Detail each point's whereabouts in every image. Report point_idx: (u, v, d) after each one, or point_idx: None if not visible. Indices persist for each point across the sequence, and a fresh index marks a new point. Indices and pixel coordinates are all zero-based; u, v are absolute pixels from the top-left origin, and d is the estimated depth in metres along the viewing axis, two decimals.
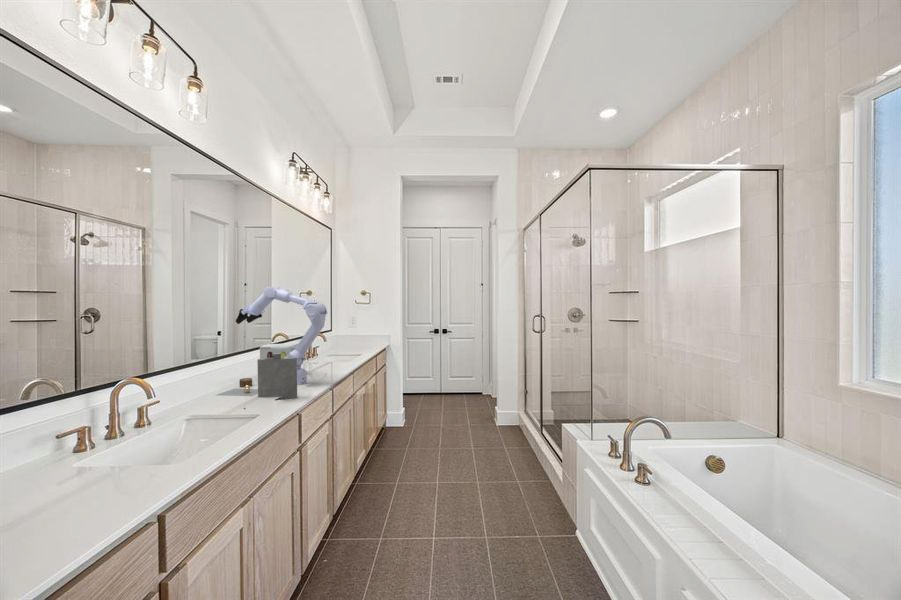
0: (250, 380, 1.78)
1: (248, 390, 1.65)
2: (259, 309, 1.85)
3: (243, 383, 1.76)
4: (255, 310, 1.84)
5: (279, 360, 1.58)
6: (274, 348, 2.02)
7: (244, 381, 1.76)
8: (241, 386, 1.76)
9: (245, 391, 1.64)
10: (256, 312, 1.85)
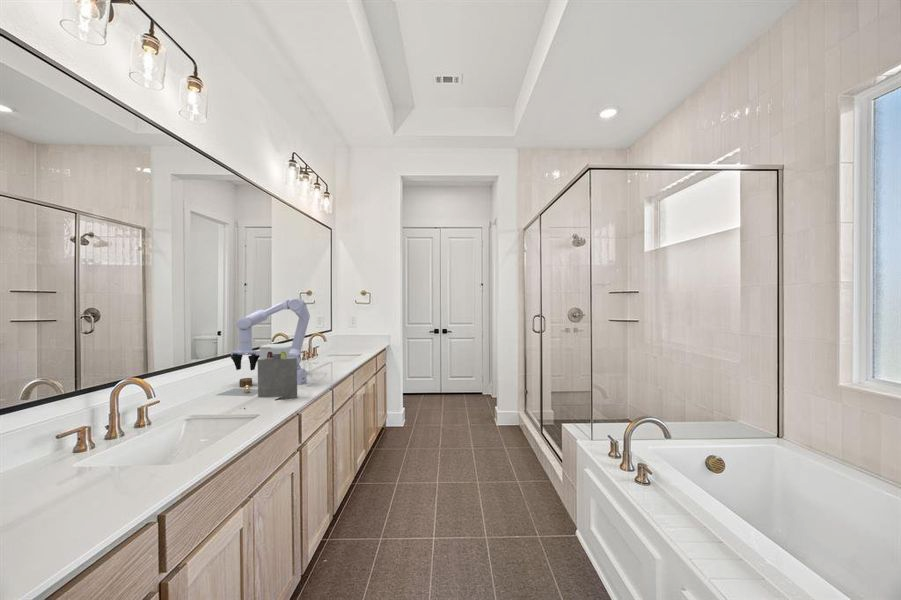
0: (250, 380, 1.78)
1: (248, 390, 1.65)
2: None
3: (243, 383, 1.76)
4: (251, 347, 1.80)
5: (279, 360, 1.58)
6: (274, 348, 2.02)
7: (244, 381, 1.76)
8: (241, 386, 1.76)
9: (245, 391, 1.64)
10: None
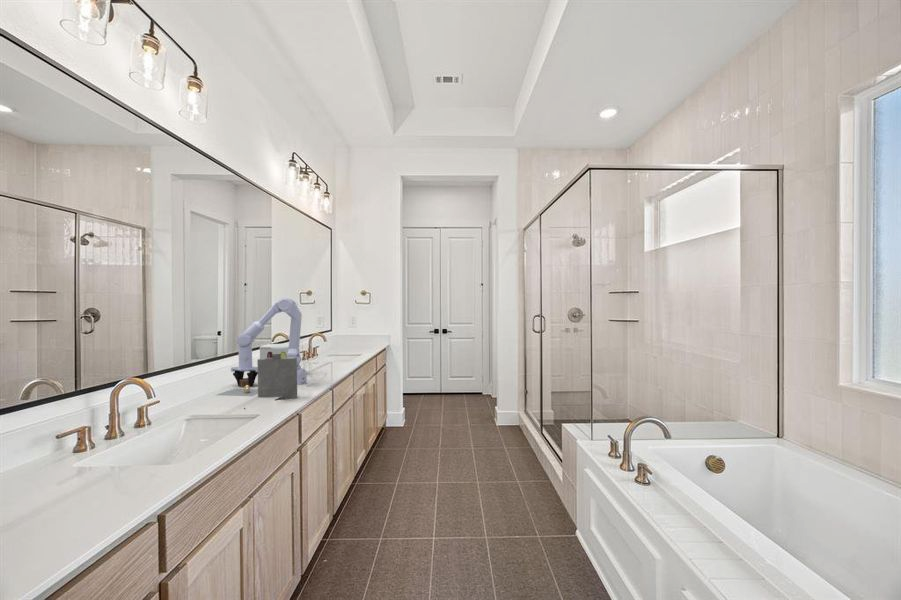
0: None
1: (248, 390, 1.65)
2: None
3: (243, 383, 1.76)
4: None
5: (279, 360, 1.58)
6: (274, 348, 2.02)
7: (244, 381, 1.76)
8: (241, 386, 1.76)
9: (245, 391, 1.64)
10: None
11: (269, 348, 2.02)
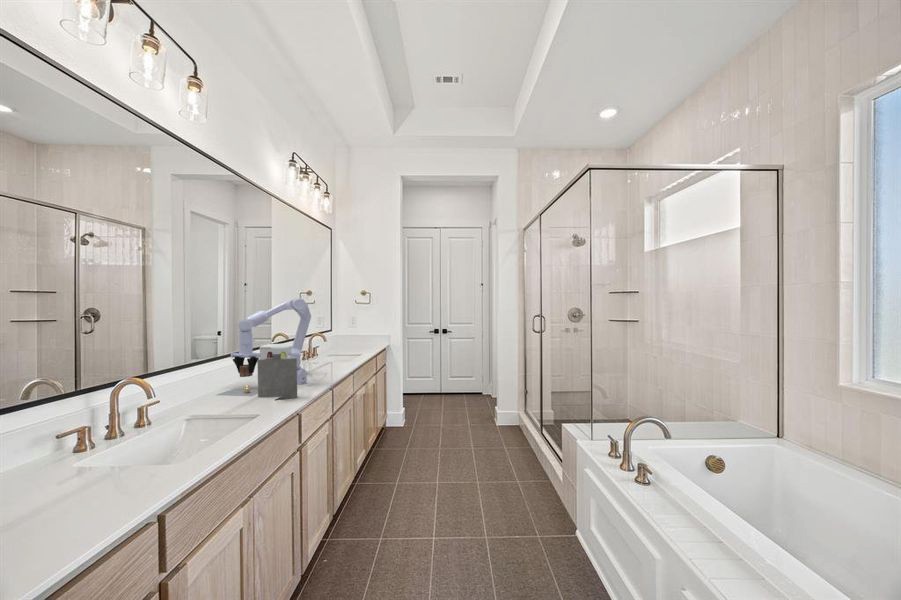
0: None
1: (248, 390, 1.65)
2: None
3: (243, 369, 1.71)
4: (252, 349, 1.75)
5: (279, 360, 1.58)
6: (274, 348, 2.02)
7: (244, 367, 1.71)
8: (241, 372, 1.71)
9: (245, 391, 1.64)
10: None
11: (269, 348, 2.02)
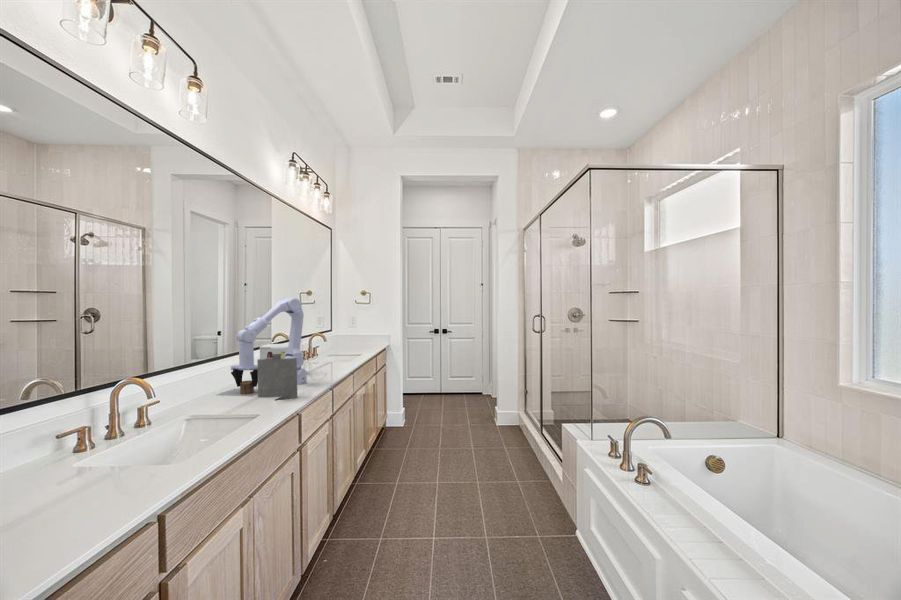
0: (251, 383, 1.65)
1: None
2: None
3: (244, 386, 1.63)
4: (253, 361, 1.66)
5: (279, 360, 1.58)
6: (274, 348, 2.02)
7: (245, 384, 1.63)
8: (242, 389, 1.63)
9: None
10: None
11: (269, 348, 2.02)
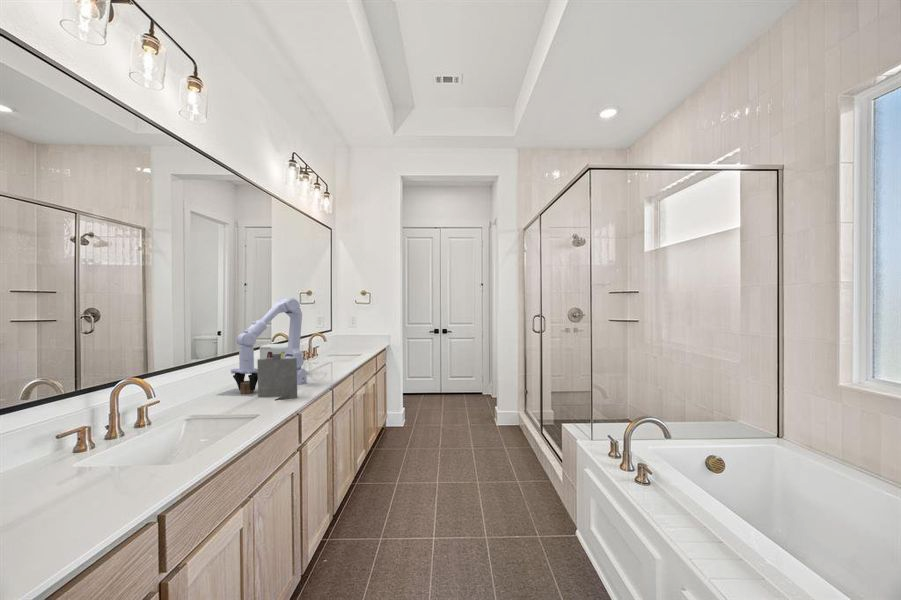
0: None
1: None
2: None
3: (244, 386, 1.63)
4: (253, 365, 1.66)
5: (279, 360, 1.58)
6: (274, 348, 2.02)
7: (245, 384, 1.63)
8: (242, 389, 1.63)
9: None
10: None
11: (269, 348, 2.02)
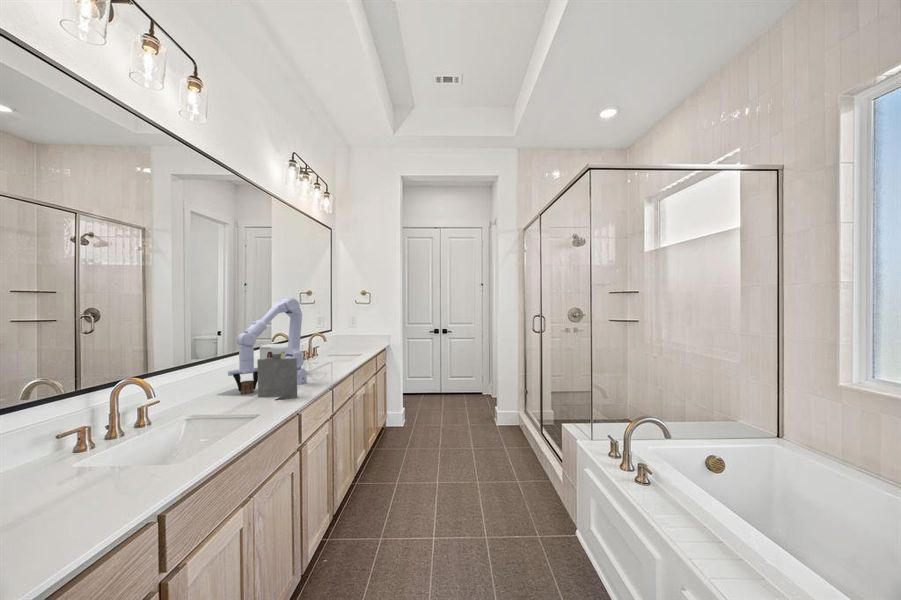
0: None
1: None
2: None
3: (253, 385, 1.66)
4: None
5: (279, 360, 1.58)
6: (274, 348, 2.02)
7: (253, 382, 1.66)
8: (251, 388, 1.64)
9: None
10: None
11: (269, 348, 2.02)
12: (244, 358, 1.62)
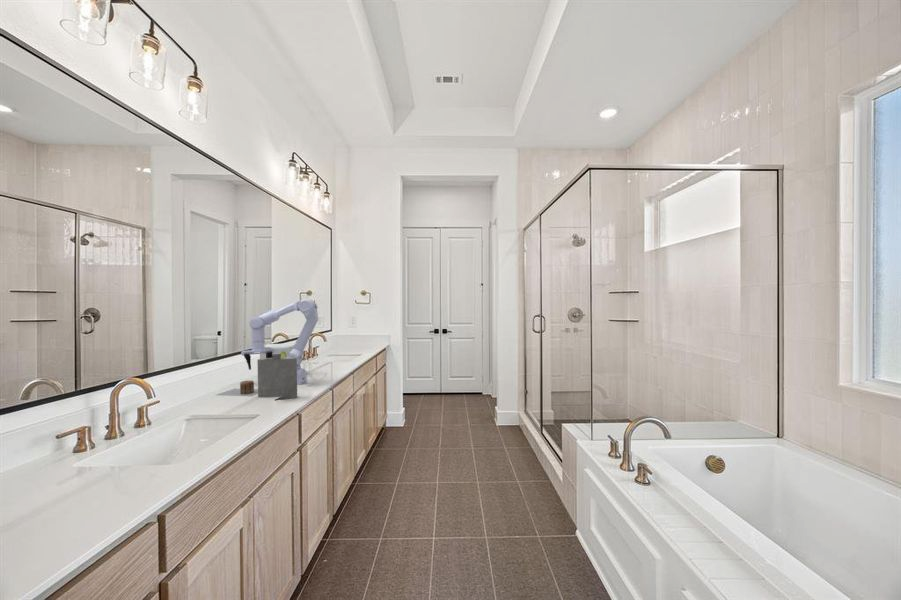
0: None
1: None
2: None
3: (253, 385, 1.66)
4: None
5: (279, 360, 1.58)
6: (274, 348, 2.02)
7: (253, 382, 1.66)
8: (251, 388, 1.65)
9: None
10: None
11: (269, 348, 2.02)
12: (252, 339, 1.80)
